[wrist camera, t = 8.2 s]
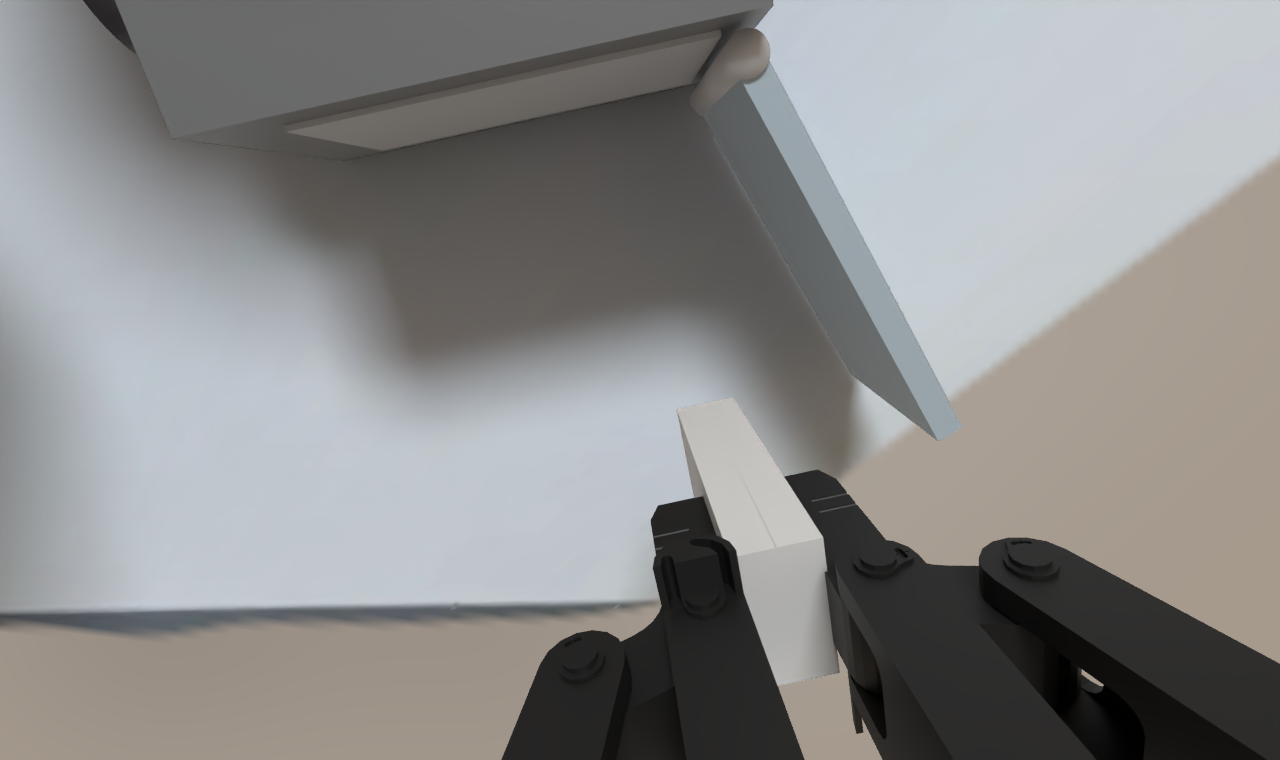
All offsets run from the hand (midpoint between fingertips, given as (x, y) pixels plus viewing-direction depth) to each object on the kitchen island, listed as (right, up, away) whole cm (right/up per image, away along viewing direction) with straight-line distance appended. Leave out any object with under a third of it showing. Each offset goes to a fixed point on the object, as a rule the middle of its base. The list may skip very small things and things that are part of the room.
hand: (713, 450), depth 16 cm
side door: (+4, +7, +7) cm, 11 cm away
